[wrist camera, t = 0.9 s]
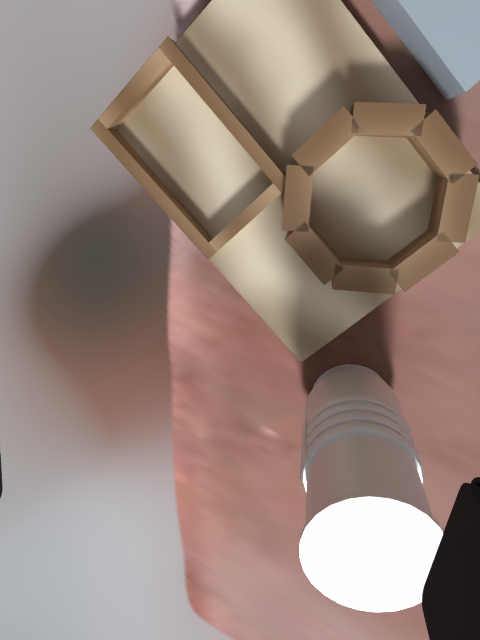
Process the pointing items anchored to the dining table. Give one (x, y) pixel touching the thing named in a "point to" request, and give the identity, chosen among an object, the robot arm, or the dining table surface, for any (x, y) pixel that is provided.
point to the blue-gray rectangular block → (439, 39)
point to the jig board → (295, 162)
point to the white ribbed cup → (363, 495)
